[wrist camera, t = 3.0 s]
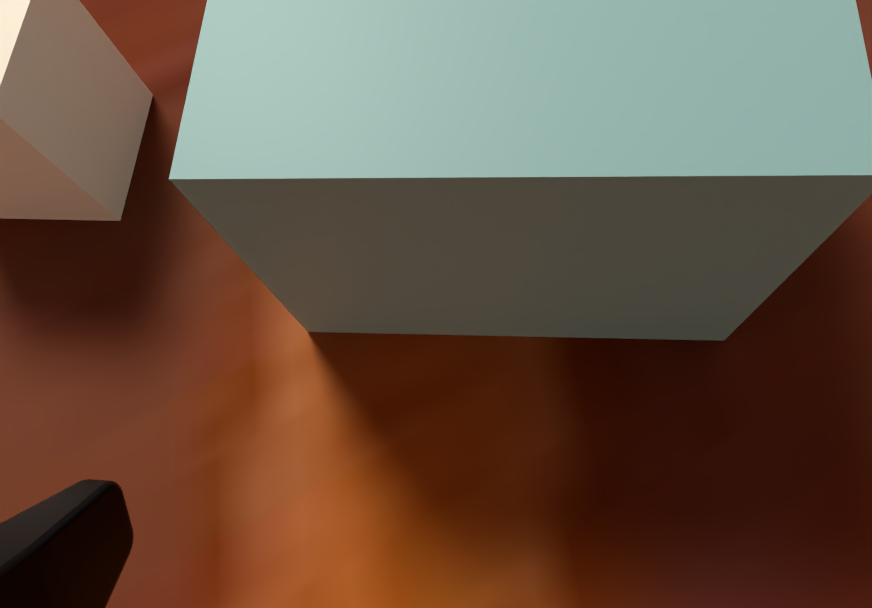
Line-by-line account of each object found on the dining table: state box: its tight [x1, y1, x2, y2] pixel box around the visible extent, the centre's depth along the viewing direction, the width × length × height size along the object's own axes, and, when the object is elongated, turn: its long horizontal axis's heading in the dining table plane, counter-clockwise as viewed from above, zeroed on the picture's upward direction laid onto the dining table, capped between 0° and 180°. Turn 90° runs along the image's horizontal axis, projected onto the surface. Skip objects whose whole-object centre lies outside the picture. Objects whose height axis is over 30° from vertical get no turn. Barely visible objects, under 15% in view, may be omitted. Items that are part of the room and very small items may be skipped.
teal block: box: [169, 0, 872, 341], centre depth 17 cm, size 10×12×9 cm
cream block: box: [0, 0, 153, 221], centre depth 21 cm, size 5×5×6 cm
